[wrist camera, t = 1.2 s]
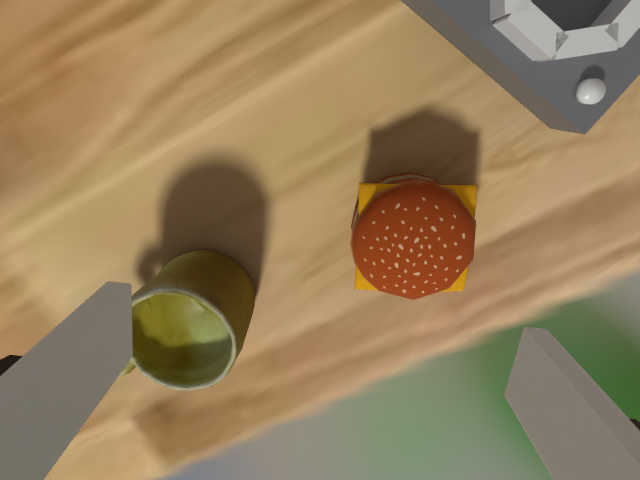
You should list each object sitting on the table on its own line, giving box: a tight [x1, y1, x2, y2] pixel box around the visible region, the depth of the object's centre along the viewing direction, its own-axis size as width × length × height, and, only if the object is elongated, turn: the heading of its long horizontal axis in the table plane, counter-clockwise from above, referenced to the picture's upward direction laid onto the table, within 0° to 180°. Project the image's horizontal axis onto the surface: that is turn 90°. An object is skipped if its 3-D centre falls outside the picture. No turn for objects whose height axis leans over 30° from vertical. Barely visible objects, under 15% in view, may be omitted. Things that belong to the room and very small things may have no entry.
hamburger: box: [351, 173, 477, 300], centre depth 35 cm, size 9×10×7 cm
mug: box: [119, 250, 255, 390], centre depth 37 cm, size 12×10×10 cm
